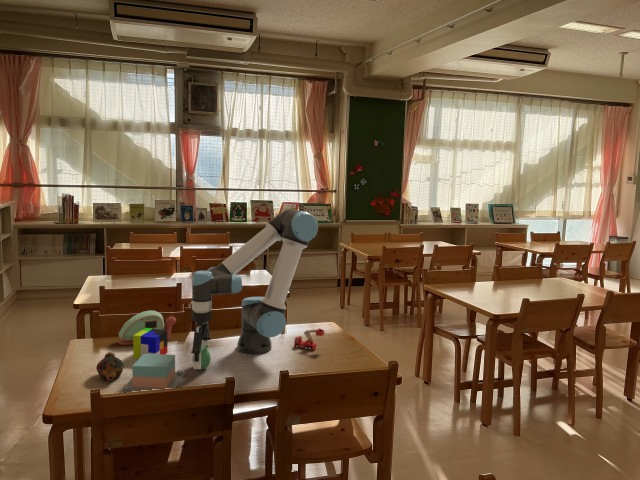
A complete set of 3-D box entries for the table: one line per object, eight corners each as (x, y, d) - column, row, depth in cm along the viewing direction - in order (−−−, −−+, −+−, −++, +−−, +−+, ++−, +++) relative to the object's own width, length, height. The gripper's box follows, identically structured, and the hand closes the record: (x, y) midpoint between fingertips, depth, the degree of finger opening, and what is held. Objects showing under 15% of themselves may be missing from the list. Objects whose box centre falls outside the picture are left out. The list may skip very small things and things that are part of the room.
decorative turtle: (120, 367, 209) (121, 348, 207) (126, 385, 196) (127, 364, 194) (93, 370, 204) (94, 350, 203) (97, 388, 191) (98, 367, 190)
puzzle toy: (155, 361, 217) (155, 337, 215) (133, 358, 219) (133, 335, 217) (167, 352, 227) (167, 330, 225) (146, 350, 229) (145, 328, 227)
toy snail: (119, 346, 231) (118, 316, 229) (118, 341, 238) (117, 311, 236) (177, 340, 242) (177, 311, 240) (174, 335, 249) (174, 306, 247)
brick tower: (185, 374, 205) (185, 352, 204) (172, 394, 187) (172, 370, 186) (138, 372, 205) (138, 350, 204) (121, 392, 187) (120, 368, 186)
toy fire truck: (296, 344, 242) (296, 324, 240) (323, 349, 237) (324, 329, 235) (293, 347, 239) (293, 326, 237) (321, 352, 234) (322, 331, 232)
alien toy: (209, 364, 216) (209, 340, 214) (211, 371, 208) (211, 347, 207) (192, 365, 214) (192, 341, 212) (192, 372, 206) (192, 348, 205)
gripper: (199, 301, 220) (198, 350, 223) (183, 319, 195) (183, 374, 198) (217, 302, 220) (216, 351, 223) (204, 320, 195) (203, 375, 198)
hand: (201, 362), depth 211 cm, fingers open, 13 cm apart
